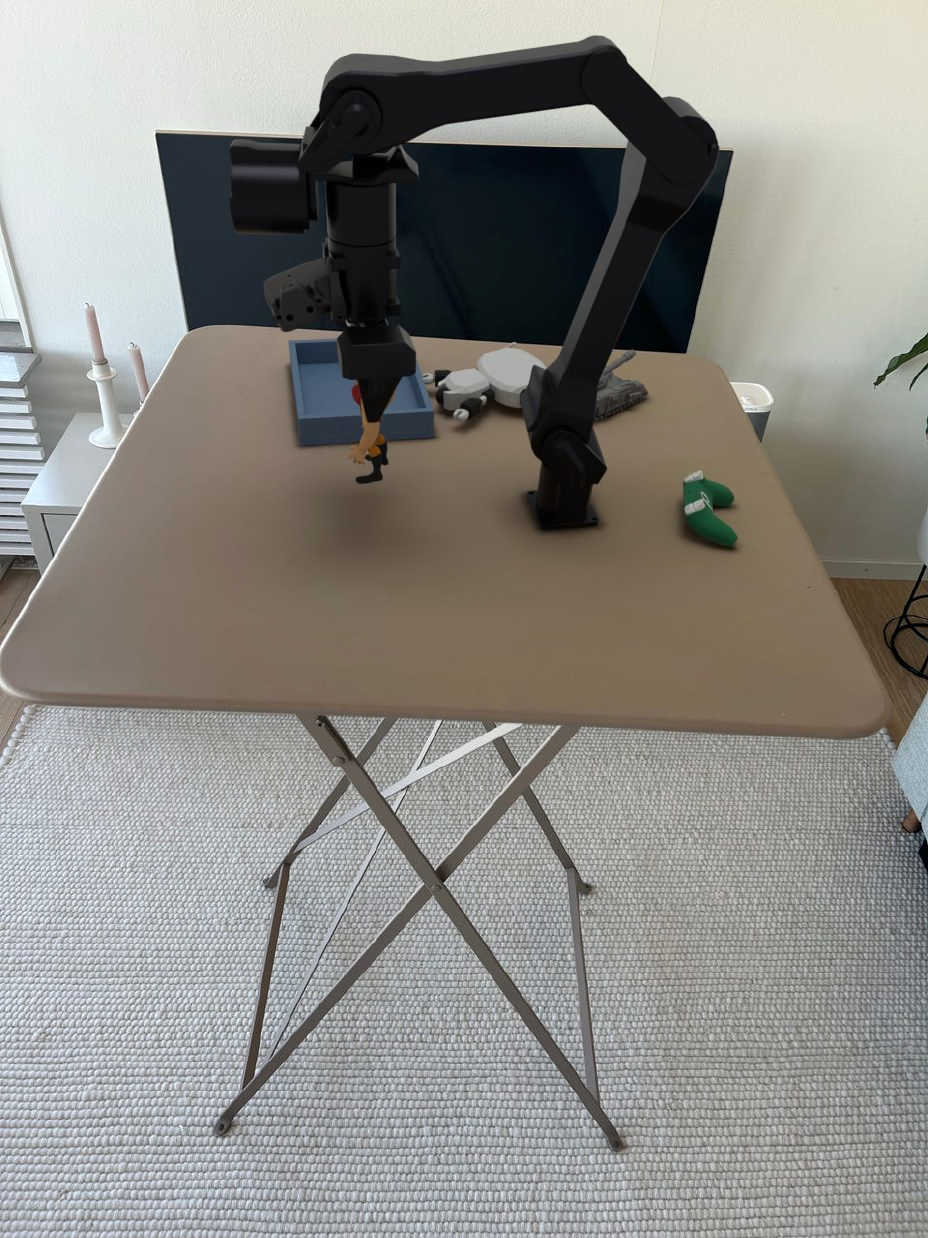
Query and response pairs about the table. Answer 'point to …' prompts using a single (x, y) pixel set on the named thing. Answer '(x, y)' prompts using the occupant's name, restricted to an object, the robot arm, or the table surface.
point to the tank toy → (617, 389)
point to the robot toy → (485, 382)
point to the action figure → (369, 444)
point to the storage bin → (349, 400)
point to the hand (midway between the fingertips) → (367, 401)
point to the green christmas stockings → (707, 508)
